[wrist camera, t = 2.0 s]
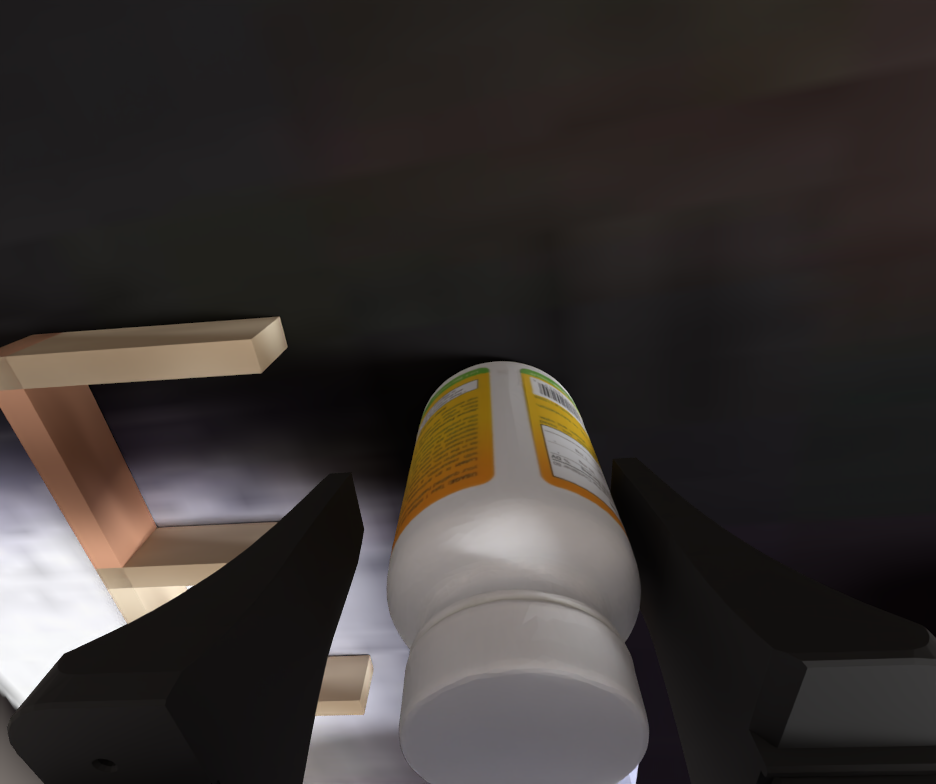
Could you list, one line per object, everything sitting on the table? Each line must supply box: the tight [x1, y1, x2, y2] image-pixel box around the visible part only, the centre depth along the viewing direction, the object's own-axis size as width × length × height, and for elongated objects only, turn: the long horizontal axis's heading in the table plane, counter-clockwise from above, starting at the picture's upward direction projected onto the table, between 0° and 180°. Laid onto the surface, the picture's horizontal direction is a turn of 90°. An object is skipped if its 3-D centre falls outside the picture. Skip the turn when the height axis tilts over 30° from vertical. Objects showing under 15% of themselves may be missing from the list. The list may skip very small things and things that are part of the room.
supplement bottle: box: [387, 361, 649, 784], centre depth 12 cm, size 5×5×10 cm
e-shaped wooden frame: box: [0, 317, 373, 716], centre depth 18 cm, size 17×8×2 cm, turn 5°
